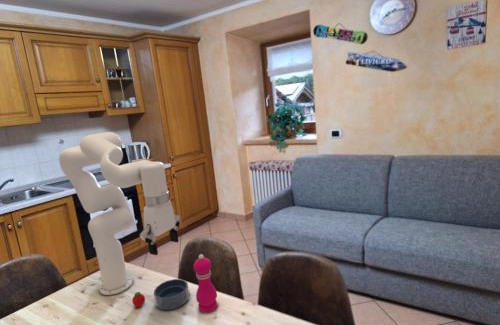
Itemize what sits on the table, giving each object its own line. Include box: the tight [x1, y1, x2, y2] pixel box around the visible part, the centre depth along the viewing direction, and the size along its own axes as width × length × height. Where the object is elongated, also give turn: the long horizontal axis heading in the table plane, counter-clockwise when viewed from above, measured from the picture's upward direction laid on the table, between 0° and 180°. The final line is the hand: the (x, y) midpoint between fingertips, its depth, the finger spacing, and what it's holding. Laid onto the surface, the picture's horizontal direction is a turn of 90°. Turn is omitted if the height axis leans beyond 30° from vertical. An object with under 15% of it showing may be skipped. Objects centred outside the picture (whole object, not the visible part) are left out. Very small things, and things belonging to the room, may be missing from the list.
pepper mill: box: [193, 253, 218, 314], centre depth 109 cm, size 7×7×20 cm
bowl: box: [153, 278, 190, 311], centre depth 116 cm, size 12×12×5 cm
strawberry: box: [131, 291, 146, 307], centre depth 116 cm, size 4×4×5 cm
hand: (164, 247), depth 107 cm, fingers open, 9 cm apart
